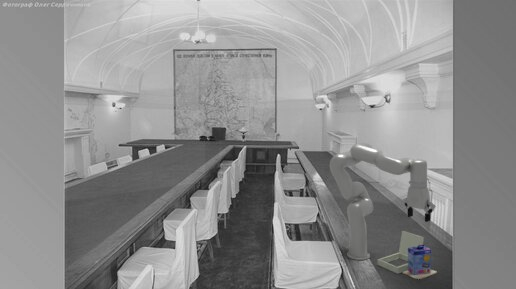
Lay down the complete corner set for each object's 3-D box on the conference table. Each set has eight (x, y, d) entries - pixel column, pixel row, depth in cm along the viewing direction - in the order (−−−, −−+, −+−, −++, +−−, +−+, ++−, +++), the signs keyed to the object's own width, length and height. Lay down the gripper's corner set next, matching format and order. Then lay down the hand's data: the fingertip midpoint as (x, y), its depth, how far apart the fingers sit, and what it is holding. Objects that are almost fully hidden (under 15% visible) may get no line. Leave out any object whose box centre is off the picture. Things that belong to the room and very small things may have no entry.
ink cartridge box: (414, 275, 173) (413, 246, 172) (407, 271, 178) (406, 243, 177) (431, 272, 175) (431, 244, 174) (424, 268, 180) (424, 240, 179)
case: (377, 264, 188) (377, 238, 187) (403, 256, 198) (403, 230, 197) (397, 273, 177) (397, 245, 176) (424, 263, 187) (424, 236, 186)
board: (402, 273, 177) (402, 272, 177) (421, 266, 184) (420, 265, 184) (418, 280, 169) (418, 278, 169) (436, 272, 176) (436, 271, 176)
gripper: (398, 183, 179) (399, 216, 181) (429, 188, 164) (429, 224, 165) (408, 181, 183) (408, 213, 184) (439, 186, 168) (439, 221, 169)
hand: (418, 218), depth 175 cm, fingers open, 9 cm apart
